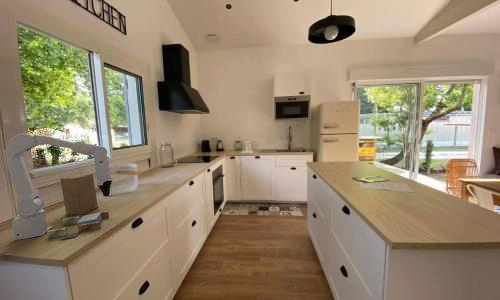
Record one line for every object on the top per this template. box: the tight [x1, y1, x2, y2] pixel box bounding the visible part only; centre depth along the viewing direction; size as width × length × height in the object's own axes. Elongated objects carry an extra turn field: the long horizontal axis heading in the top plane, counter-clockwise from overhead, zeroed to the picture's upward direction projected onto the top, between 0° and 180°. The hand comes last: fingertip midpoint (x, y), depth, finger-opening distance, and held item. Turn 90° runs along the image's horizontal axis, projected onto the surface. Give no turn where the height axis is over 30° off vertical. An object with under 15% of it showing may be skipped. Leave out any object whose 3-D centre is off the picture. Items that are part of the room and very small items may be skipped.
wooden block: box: [59, 173, 99, 216], centre depth 110 cm, size 10×10×20 cm
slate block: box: [76, 212, 103, 232], centre depth 93 cm, size 7×8×4 cm
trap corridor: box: [46, 210, 110, 241], centre depth 91 cm, size 18×22×3 cm
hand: (106, 195), depth 102 cm, fingers closed
